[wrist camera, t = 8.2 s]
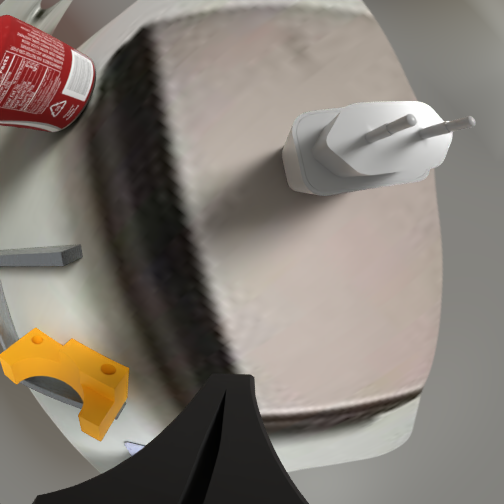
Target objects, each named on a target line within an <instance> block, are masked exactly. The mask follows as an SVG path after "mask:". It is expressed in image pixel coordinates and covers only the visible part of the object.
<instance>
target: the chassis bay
mask: <svg viewBox="0 0 504 504" xmlns="http://www.w3.org/2000/svg"><path fill="white" fill-rule="evenodd" d="M82 257H83V256H82V250H81V245H66V246H51V247H37V248H24V249H11V250H0V266H64V265H67V264H69V263H71V262H73V261H75V260H77V259H80V258H82ZM18 340H19V339H18V336H17V334H16V331H15V328H14V325H13V322H12V320H11V317H10V313H9V310H8V307H7V304H6V300H5V297H4V293H3V290H2V286H1V282H0V342H1V344H2V347H3V349H4V351H5V350H6V349H8V348H9V347H10V346H11V345H13V344H14V343H15V342H17V341H18ZM19 383H21V384H23V385H26V386H27V387H29V388H31V389H33V390H35V391H38V392H40V393H42V394H44V395H47V396H49V397H51V398H54V399H56V400H59V401H61V402H64V403H67V404H69V405H72V406H75V407H77V408H80V409H82V406H83V400H82V398H81V397H80V395H79V394H78V393H77V392H76V390H75V389H73V388H72V387H71V386H70V385H68V384H67V383H65V382H63V381H61V380H59V379H56V378H53V377H48V376H33V377H29V378H26V379H24V380H22V381H21V382H19ZM125 405H126V402H124V404H123V406H122V407H121V409H120V411H119V412H118V414H117V416H116V417H115V419H116V420H117V418H118V416H119V415H120V413H121V411H122V410H123V408H124V406H125Z"/></svg>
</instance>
